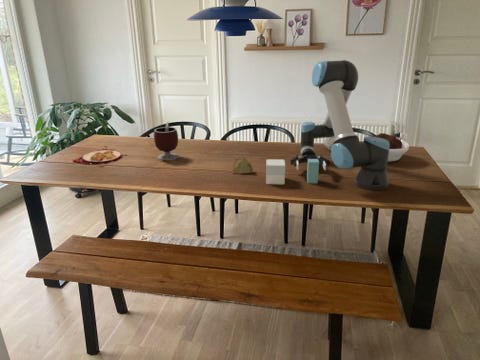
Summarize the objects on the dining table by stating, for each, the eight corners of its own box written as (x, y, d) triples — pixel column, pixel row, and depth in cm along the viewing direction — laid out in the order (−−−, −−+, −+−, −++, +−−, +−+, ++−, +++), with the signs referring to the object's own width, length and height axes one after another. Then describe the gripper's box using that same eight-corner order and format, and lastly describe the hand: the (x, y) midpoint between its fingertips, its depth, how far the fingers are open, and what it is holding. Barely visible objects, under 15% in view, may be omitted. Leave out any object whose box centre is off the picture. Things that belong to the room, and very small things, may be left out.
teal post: (316, 179, 192) (318, 159, 188) (317, 183, 187) (319, 162, 183) (306, 179, 192) (307, 158, 188) (307, 183, 188) (308, 162, 184)
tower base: (284, 178, 195) (284, 169, 193) (284, 184, 187) (284, 175, 185) (266, 177, 196) (266, 168, 194) (266, 184, 188) (266, 174, 186)
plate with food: (72, 163, 224) (71, 157, 223) (104, 150, 246) (103, 145, 244) (102, 169, 215) (101, 163, 213) (133, 155, 236) (132, 150, 234)
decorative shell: (346, 156, 226) (347, 140, 223) (318, 151, 237) (319, 135, 233) (357, 149, 240) (359, 133, 236) (331, 144, 250) (332, 129, 246)
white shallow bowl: (399, 153, 231) (403, 128, 226) (412, 166, 208) (417, 139, 203) (357, 152, 234) (360, 128, 228) (365, 165, 211) (368, 139, 205)
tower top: (283, 168, 194) (284, 159, 192) (284, 175, 185) (285, 165, 183) (266, 168, 194) (266, 159, 192) (266, 175, 186) (266, 165, 184)
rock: (257, 166, 205) (241, 161, 210) (254, 157, 198) (238, 152, 202) (248, 182, 201) (232, 176, 205) (245, 173, 194) (228, 168, 198)
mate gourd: (177, 161, 223) (174, 127, 215) (153, 161, 223) (150, 127, 216) (181, 153, 237) (179, 121, 230) (159, 153, 237) (156, 121, 230)
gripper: (330, 161, 210) (336, 175, 191) (285, 160, 212) (286, 174, 193) (331, 148, 208) (337, 160, 188) (285, 147, 210) (286, 160, 190)
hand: (311, 167), depth 190 cm, fingers open, 13 cm apart
